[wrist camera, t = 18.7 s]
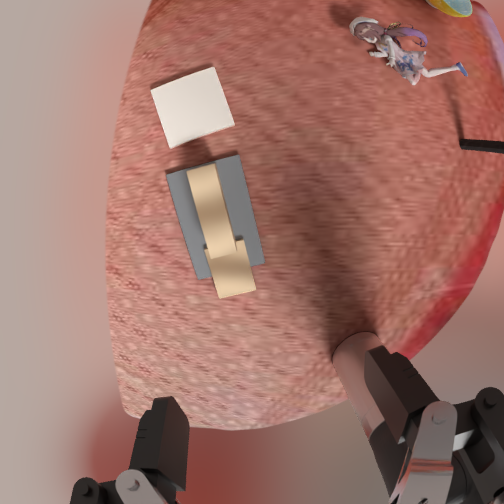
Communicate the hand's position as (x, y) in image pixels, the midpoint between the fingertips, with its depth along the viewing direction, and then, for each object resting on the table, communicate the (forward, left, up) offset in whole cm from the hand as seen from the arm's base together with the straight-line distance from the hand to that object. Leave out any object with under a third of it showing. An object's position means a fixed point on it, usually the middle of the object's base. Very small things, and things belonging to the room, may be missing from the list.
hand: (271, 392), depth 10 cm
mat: (+2, +3, -26) cm, 26 cm away
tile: (+12, +2, -26) cm, 29 cm away
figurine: (+20, -26, -26) cm, 42 cm away
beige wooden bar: (0, +2, -25) cm, 26 cm away
